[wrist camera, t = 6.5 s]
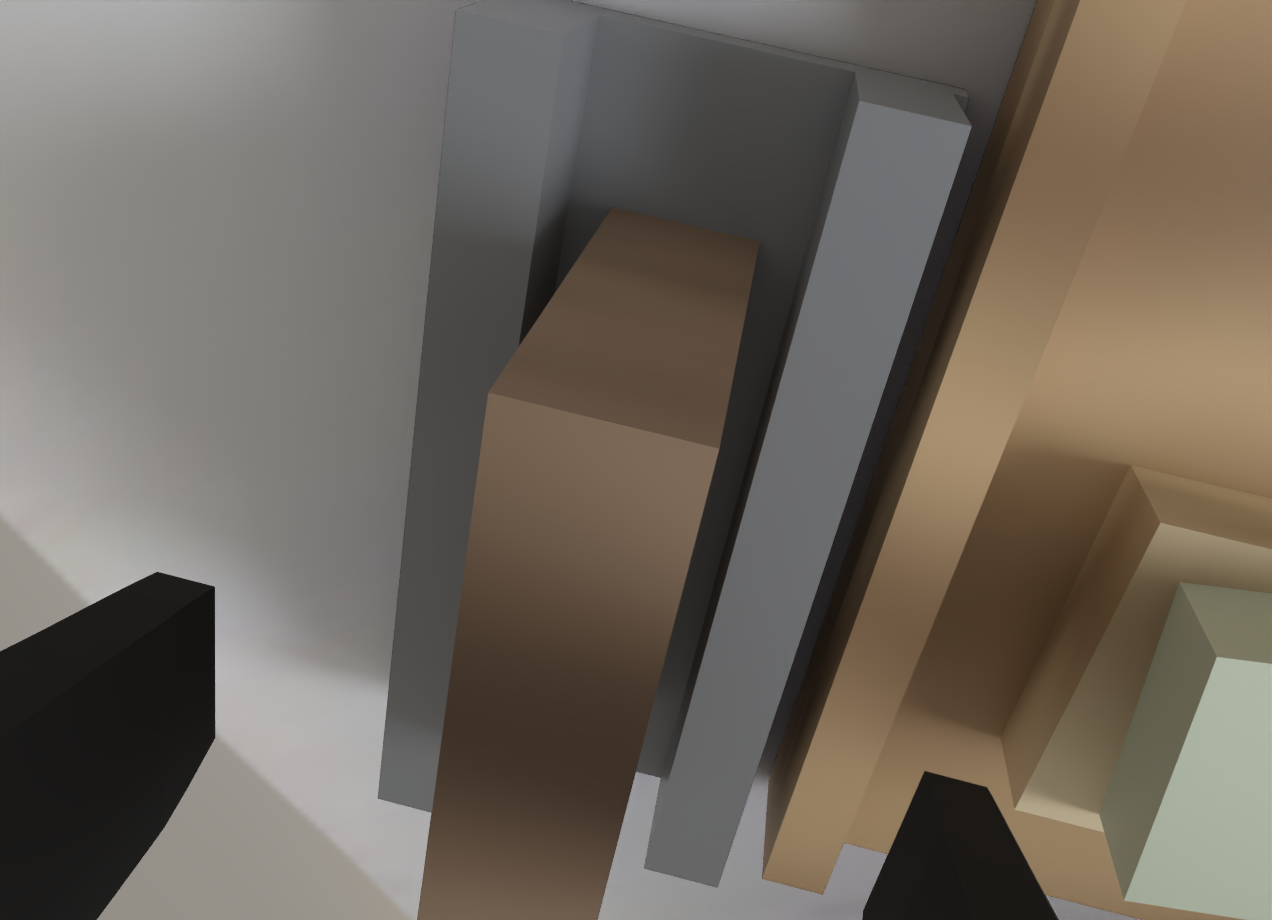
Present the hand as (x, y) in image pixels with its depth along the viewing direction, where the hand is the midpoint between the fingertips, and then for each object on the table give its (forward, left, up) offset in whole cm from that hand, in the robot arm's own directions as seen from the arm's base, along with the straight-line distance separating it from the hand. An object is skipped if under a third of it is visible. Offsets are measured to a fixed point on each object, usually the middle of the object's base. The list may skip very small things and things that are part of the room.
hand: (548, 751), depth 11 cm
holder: (0, 0, -7) cm, 7 cm away
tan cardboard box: (0, 0, -6) cm, 6 cm away
